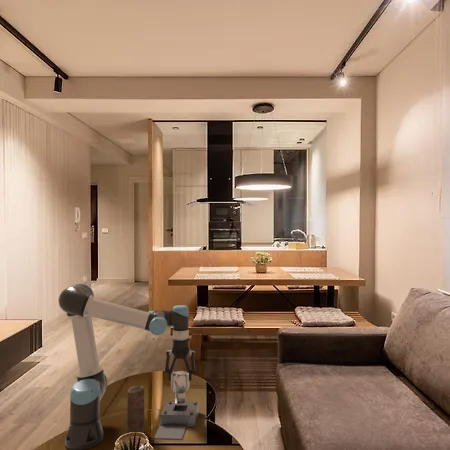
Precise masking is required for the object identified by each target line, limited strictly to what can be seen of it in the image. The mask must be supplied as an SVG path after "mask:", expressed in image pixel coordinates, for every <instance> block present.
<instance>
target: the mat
mask: <svg viewBox="0 0 450 450" xmlns="http://www.w3.org/2000/svg"><path fill="white" fill-rule="evenodd" d="M186 428H187V427H181V426H160V425H159V426H158V429H157V431H156V433H155V434H154V437H153V440H177V441H182V440H183V437H184V434H185V431H186Z"/></svg>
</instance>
